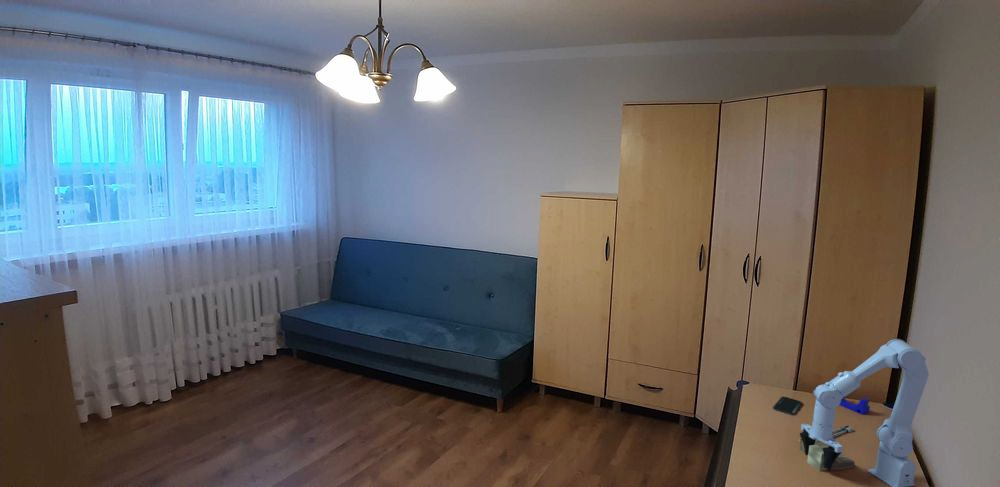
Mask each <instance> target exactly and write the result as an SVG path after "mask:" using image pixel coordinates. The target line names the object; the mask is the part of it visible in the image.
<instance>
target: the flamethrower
mask: <svg viewBox="0 0 1000 487" xmlns="http://www.w3.org/2000/svg"><path fill="white" fill-rule="evenodd" d="M807 424H808V425H809V426H812V423H811V424H810V423H807ZM851 432H854V428H853V426H849V425H846V426H843V427H842V426H841V427H839V428H836V429H833V432H832V437H833V438H834V437H836V436H839V435H841V434H844V433H851ZM797 441H798V442H799V443H803V441H802V439H801V438H798V439H797ZM817 441H818V440H816V441H815V442H817Z"/></svg>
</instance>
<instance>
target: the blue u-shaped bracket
mask: <svg viewBox="0 0 1000 487" xmlns="http://www.w3.org/2000/svg"><path fill="white" fill-rule="evenodd" d="M869 402H870V401H869V399H868V398H865V397H864V398H861V399H860V400H859V402H858V403H851V402H849V401H848V400H847V399H846V397H843V398H842V399H841V403H840V405H839V406H841V407H843V408H844V409H845V408H846V409H847V410H851V411H853V412H854V413H857V414H859V415H861V416H863V415H867V414H869V413H870V407H871V406H870V405H869Z"/></svg>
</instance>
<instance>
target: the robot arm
mask: <svg viewBox="0 0 1000 487" xmlns="http://www.w3.org/2000/svg"><path fill="white" fill-rule="evenodd" d="M926 361H927V358H926V357H925V356H924V355H923V353H921V352H920V351H919V349H916V348H914V347H913V346H911V345H909V344H908V343H907V342H905V340H903V339H900V338H896V339H895V338H894V339H891V340H889V341H888V342H887V343H886V344H883V345H881V346H880V348H878V350H877V351H876V352H875V353H874V354H873V355H871V356H870V357H868V359H866V360H865V361H863V362H862V363H861V364H860V365H858V366H857V367H856V368H855V369H853V370H852V371H851V370H845V371H843V372H842V371H840V372H838V373H837V376H835V377H834V378H832V379H831V380H829V381H826V382H825V383H824V384H820V385H818V386H817V387H815V389H814V390H813V395H814V397H815V403H814V404H815V405H814V408H813V409H814V410H813V416H812V423H811V425H812V426H809V425H808V424H809V423H801V425H800V430H801V431H802V432H799V436H800V439H802V441H803V444H804V450H805V452H804V454H805V456H808V452H809V445H814V444H815V441H816V440H818V441H821V442H823V443H825V444H826V445H828V446H829V447H826V448H823V452H824V468H825V469H827V470H829V469H828V468H831V466H832V464H833V462H834V461H835V459H836V458H837V457H838V456H839V455H840V454H841V453H842V454H843V449H844V448H843V447H844V446H842V445H841V444H840V443H839V442H838V441H837V439H835V438H834V437H832V435H833V434H832V432H833V431H834V424H835V417H836V410H837V409H836V408H837V407H839V406H840V403H841V399H842V398H843V397H844V398H846V397H847V396H848V395H849V394H851V393H852V392H854V391H855V390H857V389H858V388H860V387H861V382H862V381H863V380H864V379H866V378H868V377H870V376H871V375H874V374H875V373H876V372H879V371H880V370H882V369H884V368H894V369H900V368H901V369H902V370H903V371H904V376H903V379H902V382H901V384H900V388H899V391H898V393H897V396H896V398H895V399H896V400H895V402H894V405H893V408H892V411H891V413H890V416H889V418H886V419H884V421H883V424H882V425H881V426H880V427H879V428H878V429H877V432H876V436H877V438H878V439H879V444H878V450H877V456H876V461H875V462H876V463H875V468H868V469H867V472H868V473H870V474H872V475H873V476H875V477H877V478H878V479H879V480H881V481H882V482H884V483H885V484H887V485H889V486H890V487H914V486H915V485H916V484H915V482H914V480H915V477H916V469H917V467H916V464H915V462H914V461H913V460H911V458H909V456H910V455H911V454H912V453H913V450H914V447H913V439H914V436H913V432H912V424H913V421H914V419H915V415H916V414H917V413H916V412H917V410H918V406H919V404H920V401H921V399H922V396H923V392H924V390H925V387H926V384H927V381H928V378H929V374H930V372H929V370H928V367H927V364H926ZM899 366H900V367H899Z"/></svg>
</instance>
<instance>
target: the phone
mask: <svg viewBox="0 0 1000 487" xmlns="http://www.w3.org/2000/svg"><path fill="white" fill-rule="evenodd" d="M802 406H803V401H801V400H797V399H794V398H792V397H787V396H781V397H780V398H779V400H777V402H776V403H775V404H774V405H773V406H772V409H773V410H774V411H776V412H780V413H783V414H786V415H790V416H795V415H796V414H797V412H798V411H799V409H800V408H801V407H802Z"/></svg>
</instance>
